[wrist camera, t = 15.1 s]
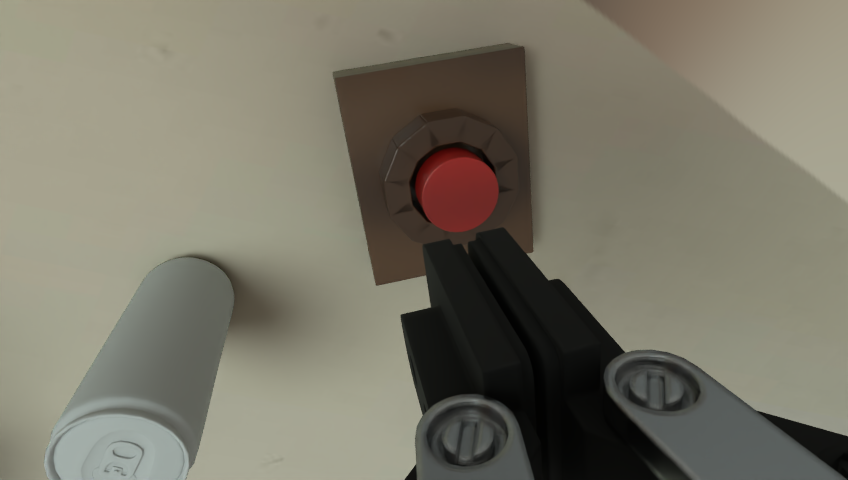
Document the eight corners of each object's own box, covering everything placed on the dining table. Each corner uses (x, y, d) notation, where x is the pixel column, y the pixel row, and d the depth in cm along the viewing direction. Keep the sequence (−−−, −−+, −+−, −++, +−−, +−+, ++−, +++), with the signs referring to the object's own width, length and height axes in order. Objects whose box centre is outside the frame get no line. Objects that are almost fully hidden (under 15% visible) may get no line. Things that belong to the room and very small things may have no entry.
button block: (332, 71, 25) (335, 84, 22) (509, 42, 26) (539, 49, 23) (372, 267, 30) (379, 303, 27) (520, 236, 31) (546, 267, 28)
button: (409, 154, 24) (416, 165, 23) (484, 140, 25) (496, 150, 23) (420, 224, 26) (427, 239, 24) (490, 210, 26) (501, 224, 25)
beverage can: (130, 311, 29) (21, 499, 18) (160, 238, 27) (62, 394, 16) (218, 339, 30) (166, 525, 20) (250, 271, 29) (214, 431, 18)
